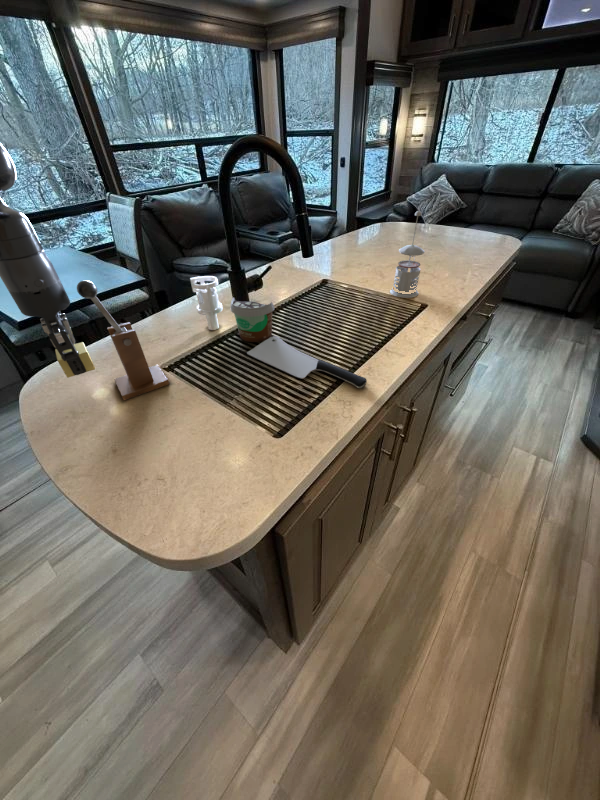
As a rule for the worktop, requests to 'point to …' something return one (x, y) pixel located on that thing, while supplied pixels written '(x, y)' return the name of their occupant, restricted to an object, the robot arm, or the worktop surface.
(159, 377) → the wooden stand
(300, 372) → the kitchen cleaver
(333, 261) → the worktop surface
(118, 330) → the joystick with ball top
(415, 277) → the french press
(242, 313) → the food container
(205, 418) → the worktop surface
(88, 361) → the butter
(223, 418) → the worktop surface
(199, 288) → the white plastic fitting
